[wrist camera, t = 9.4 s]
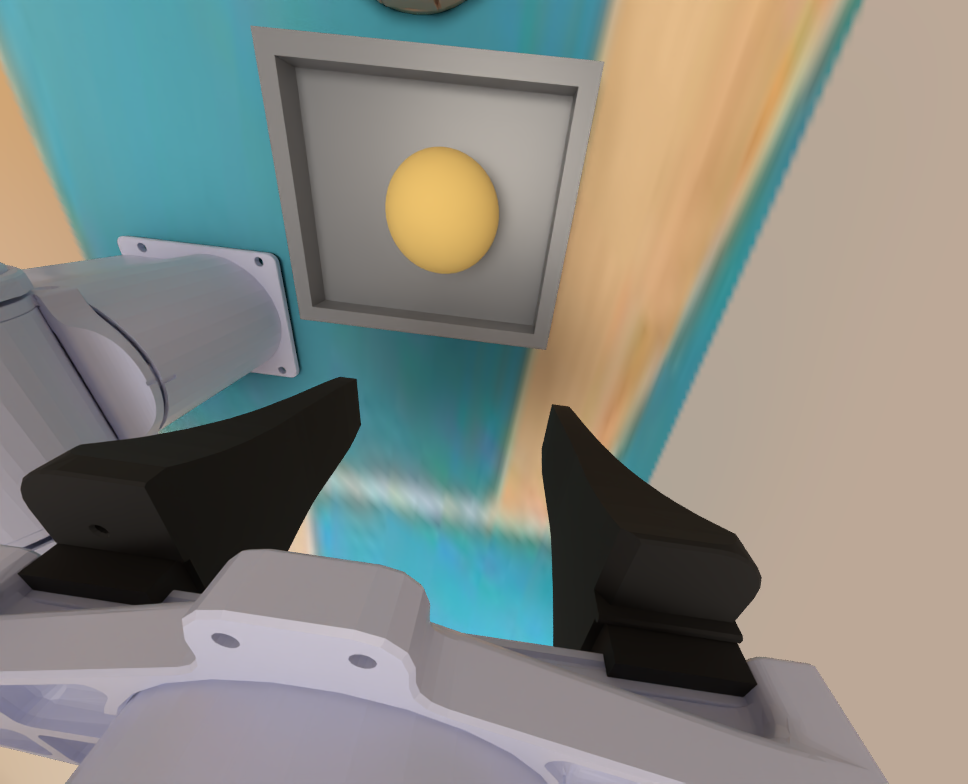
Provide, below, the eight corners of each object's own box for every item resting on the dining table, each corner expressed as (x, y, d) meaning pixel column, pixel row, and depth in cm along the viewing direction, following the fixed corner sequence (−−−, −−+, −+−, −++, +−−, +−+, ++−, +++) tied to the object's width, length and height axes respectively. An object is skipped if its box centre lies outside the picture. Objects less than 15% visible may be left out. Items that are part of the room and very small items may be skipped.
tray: (320, 307, 22) (300, 318, 20) (284, 47, 16) (250, 25, 14) (543, 335, 21) (546, 349, 19) (593, 79, 15) (604, 61, 13)
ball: (403, 261, 19) (376, 280, 14) (397, 150, 16) (362, 132, 12) (494, 267, 19) (495, 287, 15) (502, 157, 16) (505, 141, 12)
